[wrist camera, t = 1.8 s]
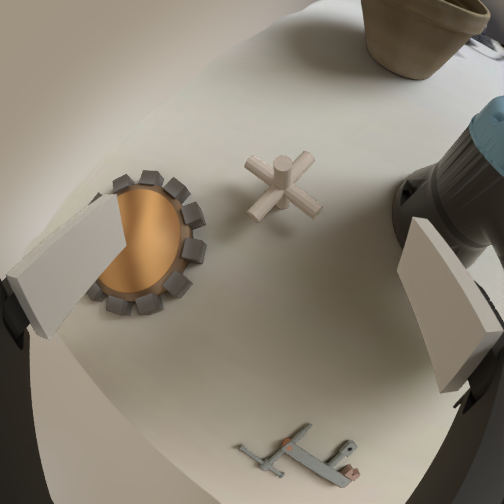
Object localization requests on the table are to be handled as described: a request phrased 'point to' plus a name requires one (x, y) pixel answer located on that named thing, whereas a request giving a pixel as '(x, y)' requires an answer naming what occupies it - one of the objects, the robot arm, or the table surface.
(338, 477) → the clamp
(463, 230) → the robot arm
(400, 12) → the plant pot
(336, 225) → the table surface
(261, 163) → the pipe connector
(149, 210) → the sprocket wheel
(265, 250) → the table surface
